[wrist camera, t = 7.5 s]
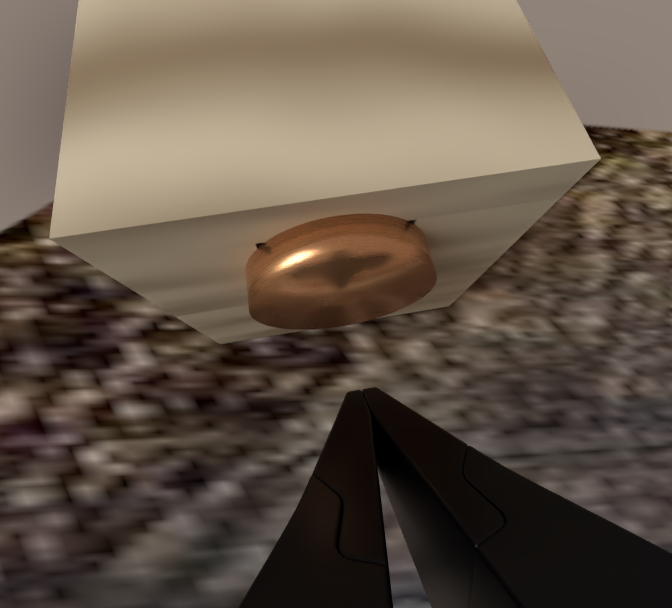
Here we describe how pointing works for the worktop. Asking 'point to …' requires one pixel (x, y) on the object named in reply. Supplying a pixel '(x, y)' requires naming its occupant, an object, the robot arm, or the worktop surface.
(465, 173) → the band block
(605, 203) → the worktop surface
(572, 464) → the worktop surface
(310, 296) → the peg
